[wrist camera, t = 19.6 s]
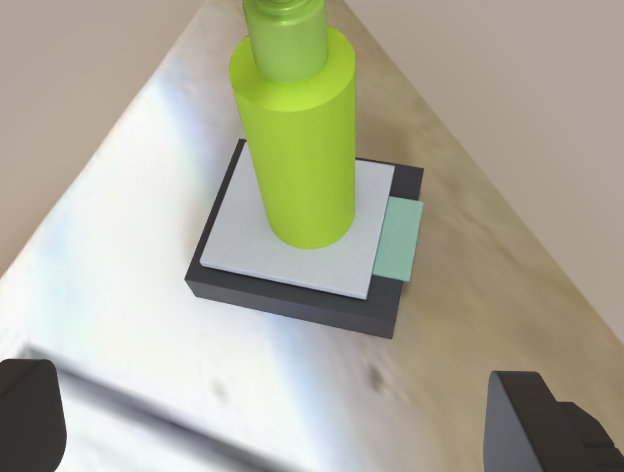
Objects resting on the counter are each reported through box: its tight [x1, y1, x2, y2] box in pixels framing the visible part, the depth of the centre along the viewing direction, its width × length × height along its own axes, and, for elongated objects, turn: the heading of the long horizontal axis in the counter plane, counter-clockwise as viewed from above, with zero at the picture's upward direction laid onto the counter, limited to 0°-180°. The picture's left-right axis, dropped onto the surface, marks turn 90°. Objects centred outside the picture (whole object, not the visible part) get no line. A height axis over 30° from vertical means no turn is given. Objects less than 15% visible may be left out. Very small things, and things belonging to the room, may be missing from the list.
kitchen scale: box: [184, 139, 424, 339], centre depth 38 cm, size 14×12×4 cm
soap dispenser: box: [229, 0, 356, 249], centre depth 27 cm, size 6×7×20 cm
